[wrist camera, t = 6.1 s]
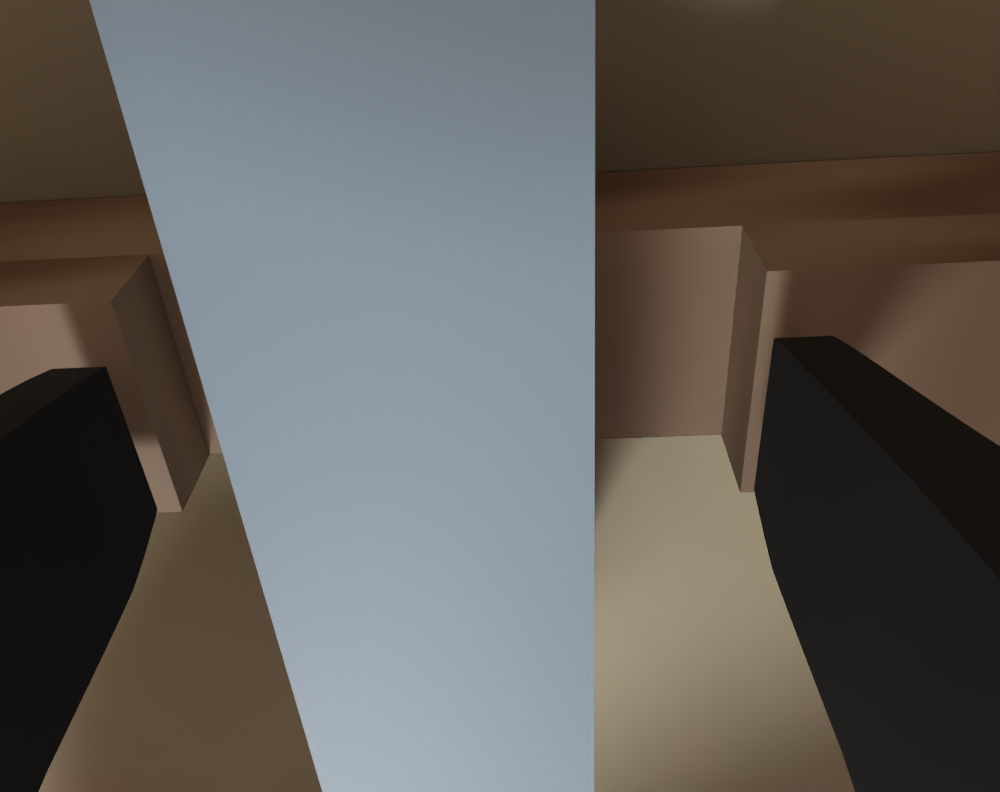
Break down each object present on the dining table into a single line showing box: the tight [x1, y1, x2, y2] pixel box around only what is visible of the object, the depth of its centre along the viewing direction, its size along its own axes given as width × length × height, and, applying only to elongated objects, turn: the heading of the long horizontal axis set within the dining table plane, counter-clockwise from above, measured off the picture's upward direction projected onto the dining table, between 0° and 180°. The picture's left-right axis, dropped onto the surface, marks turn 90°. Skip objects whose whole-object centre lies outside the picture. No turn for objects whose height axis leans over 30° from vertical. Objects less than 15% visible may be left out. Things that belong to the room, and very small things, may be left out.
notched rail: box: [0, 152, 1000, 513], centre depth 12 cm, size 20×3×3 cm, turn 93°
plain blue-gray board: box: [89, 0, 595, 792], centre depth 11 cm, size 3×12×6 cm, turn 3°
